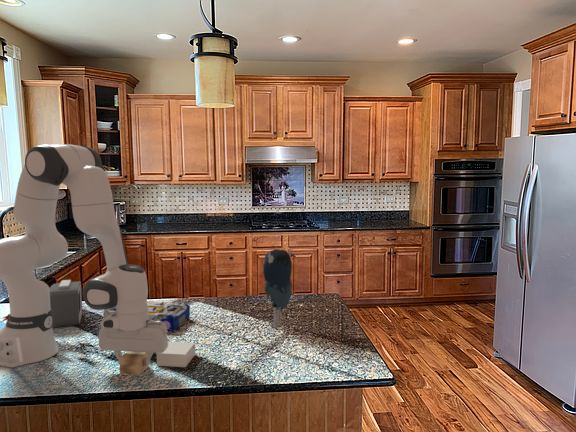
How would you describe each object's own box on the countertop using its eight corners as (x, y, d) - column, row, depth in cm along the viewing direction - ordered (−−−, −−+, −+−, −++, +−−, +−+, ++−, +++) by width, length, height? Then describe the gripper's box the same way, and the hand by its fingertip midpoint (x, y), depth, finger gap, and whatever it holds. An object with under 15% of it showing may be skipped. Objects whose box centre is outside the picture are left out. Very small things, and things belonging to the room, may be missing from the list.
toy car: (174, 333, 158) (173, 307, 157) (100, 328, 163) (99, 302, 162) (191, 319, 174) (190, 295, 173) (123, 314, 178) (122, 291, 177)
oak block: (119, 374, 126) (119, 358, 125) (129, 365, 132) (129, 349, 131) (139, 375, 125) (138, 359, 124) (148, 366, 131) (148, 350, 130)
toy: (279, 319, 173) (279, 245, 170) (300, 325, 167) (300, 249, 164) (256, 328, 163) (256, 250, 160) (277, 335, 156) (277, 254, 153)
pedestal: (157, 365, 131) (156, 353, 131) (168, 353, 140) (168, 341, 140) (185, 367, 130) (185, 354, 130) (195, 354, 139) (194, 342, 139)
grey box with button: (79, 326, 163) (77, 286, 162) (45, 330, 159) (43, 289, 158) (82, 313, 178) (80, 276, 177) (51, 316, 174) (49, 279, 173)
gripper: (170, 317, 129) (171, 361, 130) (106, 314, 131) (107, 358, 132) (162, 324, 122) (163, 371, 124) (94, 321, 125) (96, 367, 126)
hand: (134, 364), depth 128 cm, fingers open, 6 cm apart
